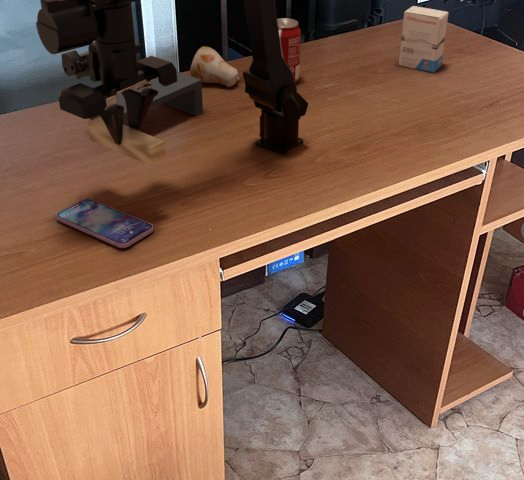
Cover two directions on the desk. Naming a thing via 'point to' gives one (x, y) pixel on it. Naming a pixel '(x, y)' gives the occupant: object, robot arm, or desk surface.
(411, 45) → the ink box
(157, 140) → the stick
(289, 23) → the soda can
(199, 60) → the cream rounded tapered piece
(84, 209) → the smartphone
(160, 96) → the small grey bench
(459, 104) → the desk surface
